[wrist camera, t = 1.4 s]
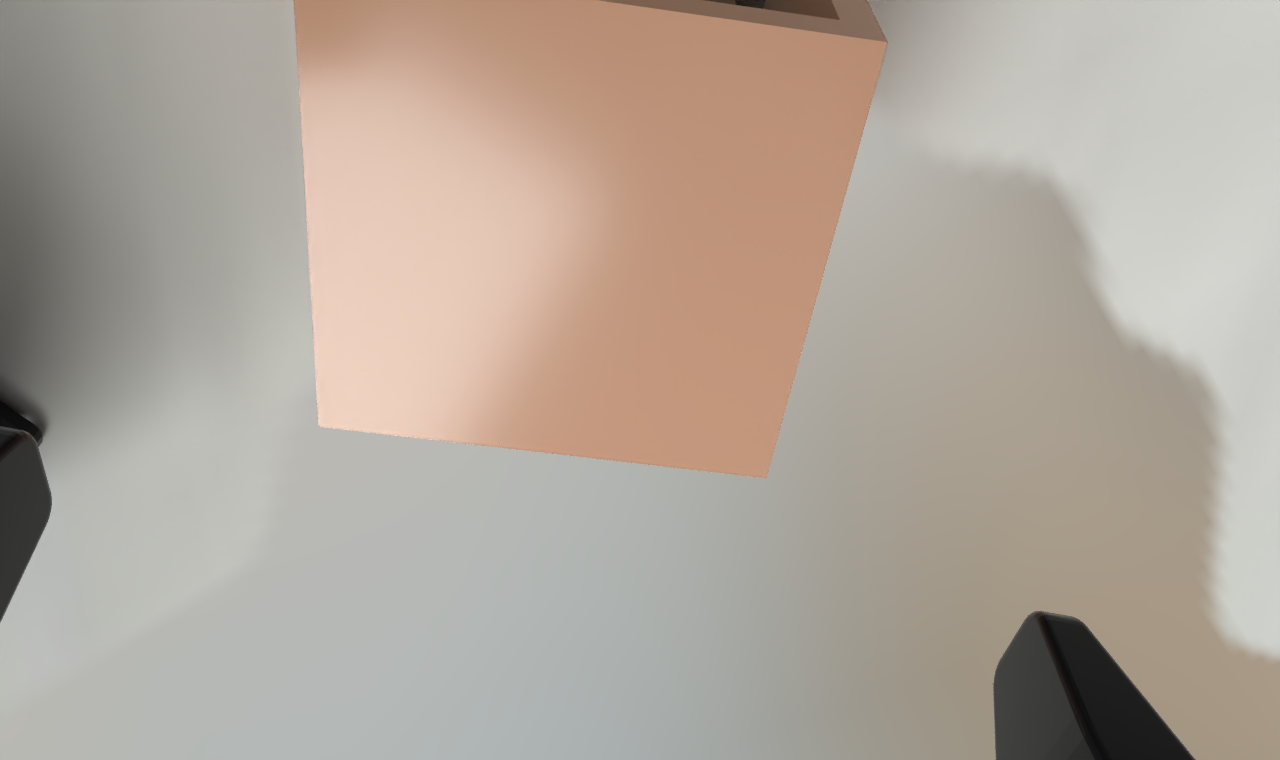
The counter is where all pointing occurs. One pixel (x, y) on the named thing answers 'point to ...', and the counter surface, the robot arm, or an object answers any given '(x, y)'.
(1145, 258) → the counter surface
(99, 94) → the counter surface
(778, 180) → the terracotta hood
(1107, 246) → the counter surface
